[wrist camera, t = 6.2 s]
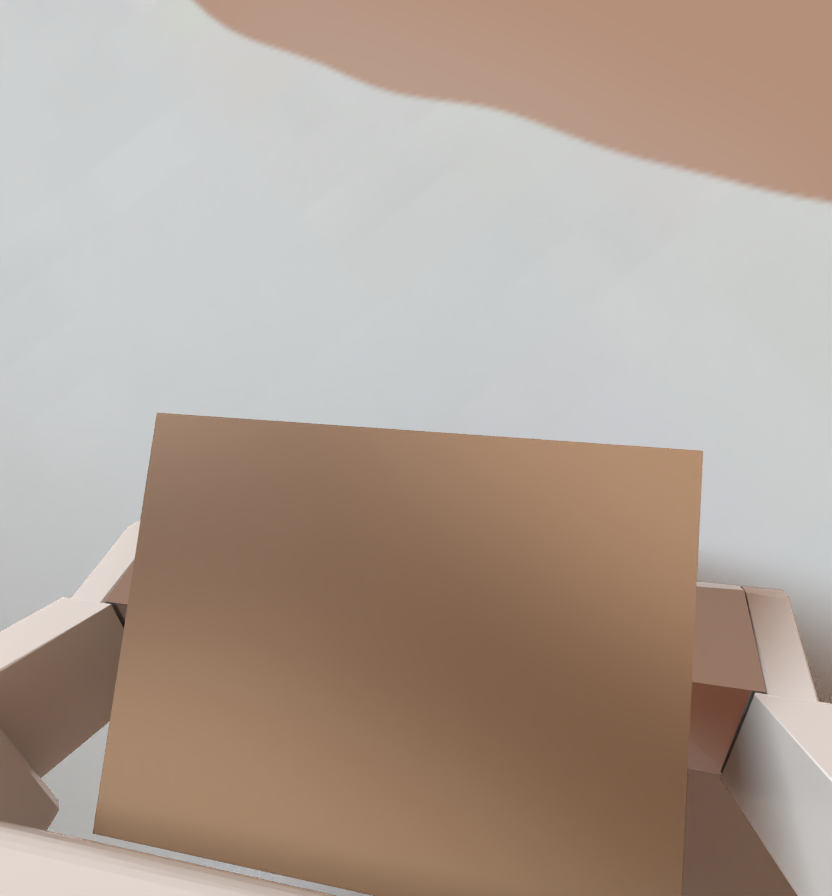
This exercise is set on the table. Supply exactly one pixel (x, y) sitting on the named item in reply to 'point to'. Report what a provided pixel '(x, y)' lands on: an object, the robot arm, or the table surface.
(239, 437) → the wooden toy cube
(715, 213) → the table surface
